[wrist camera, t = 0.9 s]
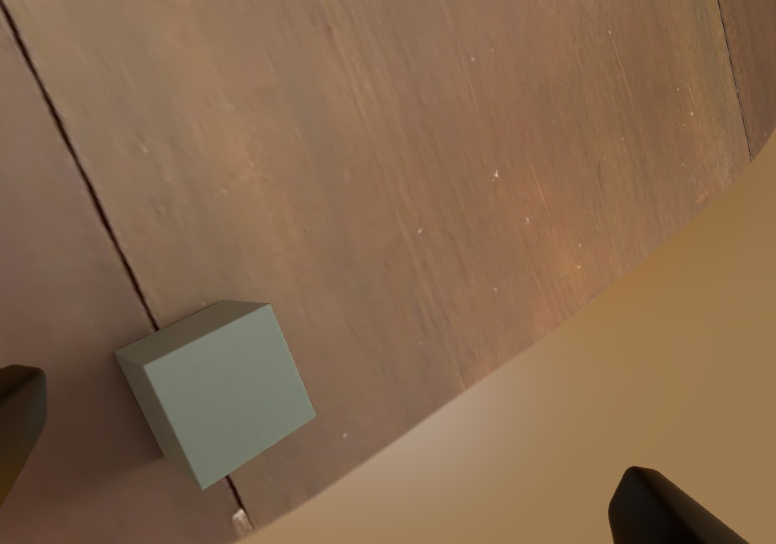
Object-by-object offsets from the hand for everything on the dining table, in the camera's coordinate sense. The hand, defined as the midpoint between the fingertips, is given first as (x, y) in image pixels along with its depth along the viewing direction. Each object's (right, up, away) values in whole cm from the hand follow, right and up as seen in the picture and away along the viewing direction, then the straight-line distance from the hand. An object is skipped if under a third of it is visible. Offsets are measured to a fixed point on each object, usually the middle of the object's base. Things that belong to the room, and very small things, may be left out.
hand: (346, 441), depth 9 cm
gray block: (-7, -1, +14) cm, 16 cm away
